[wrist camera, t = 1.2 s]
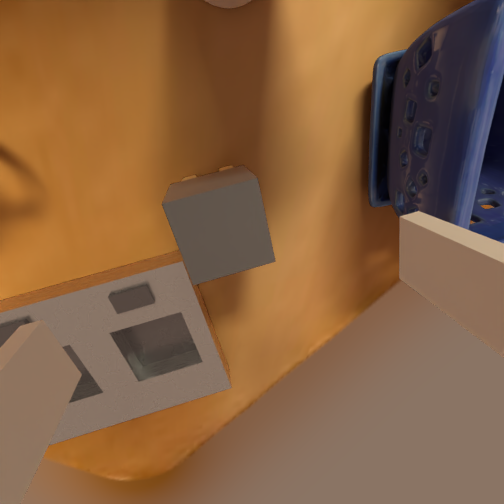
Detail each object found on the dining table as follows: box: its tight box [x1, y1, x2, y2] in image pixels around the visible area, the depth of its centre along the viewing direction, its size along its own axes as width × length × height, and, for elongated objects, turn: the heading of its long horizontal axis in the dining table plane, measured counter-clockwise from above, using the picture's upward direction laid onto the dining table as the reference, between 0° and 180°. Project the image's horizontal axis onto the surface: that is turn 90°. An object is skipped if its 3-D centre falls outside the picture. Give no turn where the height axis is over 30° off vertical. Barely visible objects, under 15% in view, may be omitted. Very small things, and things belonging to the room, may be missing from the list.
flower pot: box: [368, 0, 504, 243], centre depth 19 cm, size 13×13×12 cm
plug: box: [162, 165, 276, 285], centre depth 19 cm, size 5×5×10 cm
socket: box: [0, 250, 232, 445], centre depth 27 cm, size 16×20×3 cm
